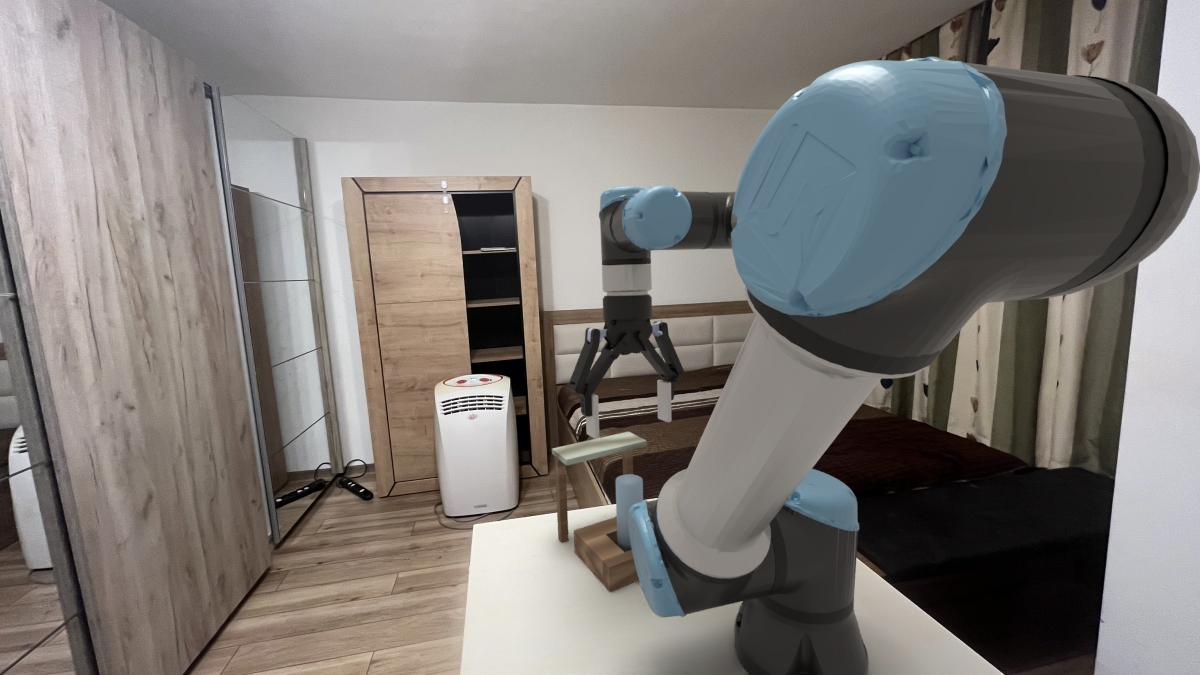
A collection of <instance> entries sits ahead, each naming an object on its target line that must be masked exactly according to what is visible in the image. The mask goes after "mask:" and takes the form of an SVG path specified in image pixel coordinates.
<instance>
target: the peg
mask: <svg viewBox="0 0 1200 675" xmlns="http://www.w3.org/2000/svg"><path fill="white" fill-rule="evenodd" d="M643 481H644V480H643V478H642V477H641V476H639V475H636V474H633V475H632V474H627V475H623V474H622V475H619V476H617V477H616V478H615V503H616V504H615V507H616V509H615V510H616V517H617V546H619V547H620V548H621V549H622V550H623V551H624V552H627V551H630V550H632V548H631V542H630V535H629V527H628V513H629V509H630V507H631V506H632V505H633V504H636V503H639V502H642V501H643V500H644V482H643Z"/></svg>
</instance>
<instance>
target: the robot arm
mask: <svg viewBox="0 0 1200 675" xmlns="http://www.w3.org/2000/svg"><path fill="white" fill-rule="evenodd" d="M1199 178H1200V157H1199V150H1198V145H1197V138H1196V136H1195V135H1194V133H1193V131H1192V129H1191V128H1190V126H1189V125H1188V124H1187V122H1186V120H1185V119H1184V117H1183V116H1182V115H1181V114H1180V113H1179V111H1177V109H1176V108H1174V106H1173V105H1171V104H1170V103H1169V102H1168V101H1167V100H1166V99H1165V98H1163V97H1161V96H1159V95H1157V94H1156V93H1153V92H1152V91H1150V90H1148V89H1147V88H1145V87H1141V86H1139V85H1136V84H1133V83H1130V82H1127V81H1124V80H1119V79H1117V78H1110V77H1109V78H1108V77H1099V76H1091V75H1090V76H1089V75H1083V74H1082V75H1080V74H1079V75H1078V74H1075V75H1072V74H1071V75H1069V74H1057V73H1050V72H1043V71H1042V72H1041V71H1035V70H1027V69H1026V70H1025V69H1021V68H1020V69H1019V68H1009V67H1004V66H1003V67H1002V66H1001V67H1000V66H995V65H994V66H993V65H986V64H985V65H984V64H978V63H969V62H964V61H961V60H956V61H955V60H947V59H941V58H939V57H938V56H927V57H924V58H923V57H922V58H910V59H907V60H881V59H877V60H876V59H875V60H874V59H872V60H864V61H858V62H857V61H856V62H853V63H849V64H845V65H841V66H839V67H836V68H834V69H831V70H829V71H827V72H825V73H823V74H822V75H820V76H818V77H817V78H816V79H815V80H814V81H813V82H811V84H810V85H808V86H806V87H803V88H802V89H799V90H798V91H796V92H795V93H794V94H793V95H791V97H789V98H788V100H787V101H786V102H784V103H783V104H782V105H781V106H780V108H779V109H778V110H777V111H776V112H775V113H774V114H773V116H771V118H770V120H769V121H768V123H767V124H766V125H765V127H764V128H763V130H762V131H761V132H760V134H759V135H758V137H757V139H756V141H755V143H754V144H753V147H752V148H751V150H750V152H749V155H748V156H747V159H746V161H745V164H743V168H742V171H741V174H740V177H739V180H738V183H737V187H736V191H716V192H715V191H713V192H712V191H711V192H709V191H687V190H685V191H682V190H678V188H674V186H670V185H663V184H661V185H656V186H655V185H654V186H649V187H646V188H645V187H641V186H631V185H630V186H629V185H628V186H616V187H613V188H607V189H605V190H604V191H603V192H602V193H601V194H600V197H599V198H600V199H599V201H600V203H599V212H598V218H599V227H600V254H601V255H600V256H601V271H602V272H601V275H602V277H601V278H602V279H601V280H602V282H601V283H602V292H603V293H606V295H603V297H602V317H603V320H604V326H603V328H602V329H601V328H595V327H593V328H592V327H586V329H585V332H584V343H583V346H582V348H581V351H580V353H579V356H578V359H577V362H576V364H575V366H574V370H573V371H572V374H571V377H570V379H569V382H568V385H567V390H569V391H570V392H572V393H575V394H577V395H578V394H579V396H580V399H579V400H580V413H581V415H582V416H584V417H585V423H586V424H585V426H586V430H585V431H586V435H588V436H589V437H591V438H592V439H597V438H600V418H599V417H600V412H599V395H597V394H595V391H596V390H597V388H598V387H599V385H600V383H601V382H602V380H603V378H604V377H605V376H606V374H607V372H608V371H609V370H610V368H611V367H612V364H613V363H614V362H615V360H618V358H619V356H620V355H621V356H628V355H631V354H636V355H638V354H642V356H643V358H645V359H646V361H647V362H648V363H649V364H650V365H651V367H652V368H653V370H654V371H655V372H656V373H657V374H658V375H659V377H660V378H661V379H658V380H656V382H657V383H656V384H657V386H656V387H657V388H656V389H657V394H656V395H657V419H658V420H661V421H663V422H666V423H671V422H672V401H673V400H674V398H675V383H677V382H679V380H680V377H683V376H684V375H685V370H684V367H683V365H682V363H681V360H680V358H679V356H678V354H677V351H676V349H675V347H674V344H673V342H672V340H671V337H670V334H669V325H668V323H667V322H665V321H657V320H655V321H653V322H652V323H651V318H652V317H653V302H652V301H653V298H652V296H651V294H649V291H651V290H652V289H653V287H652V286H653V282H652V281H653V279H652V251H684V250H688V251H689V250H714V249H715V250H731V251H732V255H733V258H734V262H735V263H734V264H735V267H736V270H737V273H738V275H739V277H740V279H741V280H742V283H743V284H744V290H745V291H744V292H745V296H746V300H747V303H748V306H749V307H750V309H751V311H752V312H753V314H754V315H755V317H754V319H753V322H752V324H751V326H750V329H749V331H748V332H747V335H746V337H745V340H744V341H743V344H742V345H741V349H740V351H739V353H738V355H737V357H736V360H735V361H734V365H733V367H732V368H731V370H730V373H729V375H728V378H727V379H726V383H725V384H724V386H723V389H722V391H721V393H720V395H719V398H718V399H717V402H716V404H715V406H714V408H713V411H712V413H711V415H710V417H709V420H708V422H707V424H706V427H705V428H704V430H703V433H702V435H701V437H700V440H699V442H698V445H697V447H696V449H695V450H694V453H693V455H692V457H691V460H690V462H689V464H688V467H687V468H685V469H682V470H681V471H680V470H679V471H678V472H676V473H675V474H674V475H672V476H671V477H669V479H668V480H667V481H666V482H665V483H664V484H663V486H662V488H661V490H660V492H659V495H658V497H657V499H654V500H647V499H643V501H642V502H639V503H636V504H633V505H632V506H631V507H630V509H629V513H628V527H629V535H630V542H631V548H632V553H633V558H634V562H635V566H636V570H637V574H638V578H639V580H638V581H639V584H640V588H641V591H642V593H643V596H644V599H645V601H646V603H647V605H648V607H649V609H650V611H651V612H653V614H655V615H656V616H658V617H660V618H671V617H681V618H684V617H686V616H687V615H688V614H694V613H699V612H703V611H706V610H710V609H715V608H720V607H723V606H727V605H731V604H732V605H733V604H737V603H741V604H740V606H739V609H738V611H737V614H736V617H735V620H734V630H733V646H734V651H735V653H736V654H735V655H736V657H737V659H738V661H739V663H740V664H741V666H742V667H743V669H744V670H745V671H746V673H747V674H748V675H869V664H870V663H869V655H868V650H867V646H866V645H865V642H864V639H863V637H862V634H861V629H860V626H859V622H858V620H857V616H856V613H855V609H854V608H855V606H854V604H855V602H854V601H855V587H856V586H855V584H856V572H857V570H856V568H857V554H858V551H857V550H858V540H859V538H858V536H859V530H860V523H859V522H858V501H857V500H858V499H857V497H856V495H855V494H854V492H853V490H852V489H851V488H850V487H849V486H848V485H846V483H844V482H843V481H841V480H840V479H839V478H836V477H834V476H832V475H830V474H828V473H825V472H822V471H820V470H818V469H814V467H815V465H816V464H817V462H818V461H819V460H820V459H821V457H822V456H823V455H824V453H825V452H826V451H827V450H828V448H829V447H830V446H831V445H832V443H833V442H834V441H835V439H836V438H837V437H838V435H839V434H840V433H841V431H843V429H844V428H845V427H846V425H847V424H848V422H849V421H850V420H851V419H852V418H853V416H854V415H855V413H856V412H857V411H858V410H859V409H860V407H861V406H862V405H863V403H864V402H865V401H866V399H867V398H868V397H869V395H870V394H871V393H872V392H873V390H874V389H875V388H876V386H878V384H879V383H880V382H881V380H882V379H900V378H906V377H911V376H914V375H917V374H919V373H921V372H922V371H923V370H925V369H927V368H928V367H929V366H930V365H932V364H933V362H934V361H935V360H936V359H937V358H938V356H939V355H940V354H941V353H942V352H943V351H944V349H946V347H947V346H948V345H949V344H950V343H951V341H952V340H953V339H955V337H956V336H957V335H958V334H959V333H960V331H961V330H962V329H963V328H964V326H966V324H967V323H968V322H969V320H970V319H971V318H973V316H974V315H975V313H977V312H978V311H979V310H980V309H981V308H982V307H983V306H985V305H986V304H988V303H989V304H990V303H1004V302H1007V303H1008V302H1016V301H1017V302H1019V301H1029V300H1043V299H1050V298H1055V297H1061V296H1067V295H1072V294H1075V293H1079V292H1081V291H1083V290H1087V289H1089V288H1093V287H1096V286H1099V285H1102V284H1104V283H1106V282H1109V281H1111V280H1113V279H1115V278H1117V277H1119V276H1121V275H1123V274H1125V273H1126V272H1129V271H1130V270H1132V269H1133V268H1135V267H1137V266H1138V265H1139V264H1140V263H1141V262H1143V261H1144V260H1146V258H1148V257H1150V256H1151V255H1152V254H1153V253H1155V252H1156V251H1157V250H1159V248H1161V246H1162V245H1163V244H1164V243H1165V242H1166V241H1167V240H1168V239H1169V238H1170V237H1171V236H1172V235H1173V233H1175V231H1176V230H1177V228H1178V227H1179V226H1180V224H1181V223H1182V222H1183V220H1184V219H1185V217H1186V216H1187V214H1188V211H1189V209H1190V206H1191V204H1192V202H1193V200H1194V198H1195V195H1196V192H1197V191H1198V186H1199V180H1200V179H1199ZM652 335H653V337H654V340H655V342H656V345H657V347H658V349H659V352H660V354H661V355H660V354H659V352H658V351H656V347H655V345H654V344H653V343H652V341H651V340H650V338H651V337H652ZM603 339H604V340H605V341H606V342H605V344H604V346H603V347H602V348H601V350H600V354H599V356H598V357H597V359H596V361H595V362H594V360H595V358H596V355H597V353H598V350H599V347H600V343H602V342H603Z"/></svg>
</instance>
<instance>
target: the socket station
mask: <svg viewBox="0 0 1200 675" xmlns="http://www.w3.org/2000/svg"><path fill="white" fill-rule="evenodd" d="M647 442H648V441H647V439H644V438H642V437H640V436H638V435H636V434H635V433H632V432H630V431H625V432H620V433H616V434H611V435H606V436H603V437H599V438H597V439H595V438H592V439H589V440H584V441H579V442H576V443H572V444H567V445H563V446H557V447H554V448H551V454H552V455H553V456H554V474H555V491H556V492H555V494H556V495H555V497H556V498H555V499H556V517H557V535H558V536H557V537H558V538H557V539H558V540H559V541H560V543H565V542H569V520H568V517H569V515H568V514H569V513H568V496H567V495H568V493H567V492H568V491H567V472H566V470H567V469H566V468H567V467H566V466H571V465H575V464H579V463H584V462H588V461H591V460H595V459H598V458H599V459H600V458H603V457H607V456H611V455H615V454H619V453H622V475H627V474H632V475H634V458H633V457H634V454H633V450H636V449H640V448H645V447H647ZM573 546H574V554H576V555H577V557H578V558H579V559H580V560H581V561H582V562H583V564H584V565H585V566H586V567H587V568H588V570H590V571H591V573H592V574H593V575H594V576H595V577H596V579H598V580H599V582H600V583H601V584H602V585H603V586H604V587H605V589H607V591H608V592H609V593H612V592H613V591H616V590H618V589H621V588H623V587H626V586H628V585H631V584H634V583H635V582H638V581H639V578H638V574H637V570H636V566H635V562H634V558H633V553H632V550H630V551H627V552H624V551H623V550H622V549H621V548H620V547H619V546H617V516H615V517H610V518H608V519H605V520H602V521H599V522H595V523H592V524H590V525H585V526H583V527H580V528H576V529H574V530H573Z"/></svg>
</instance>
